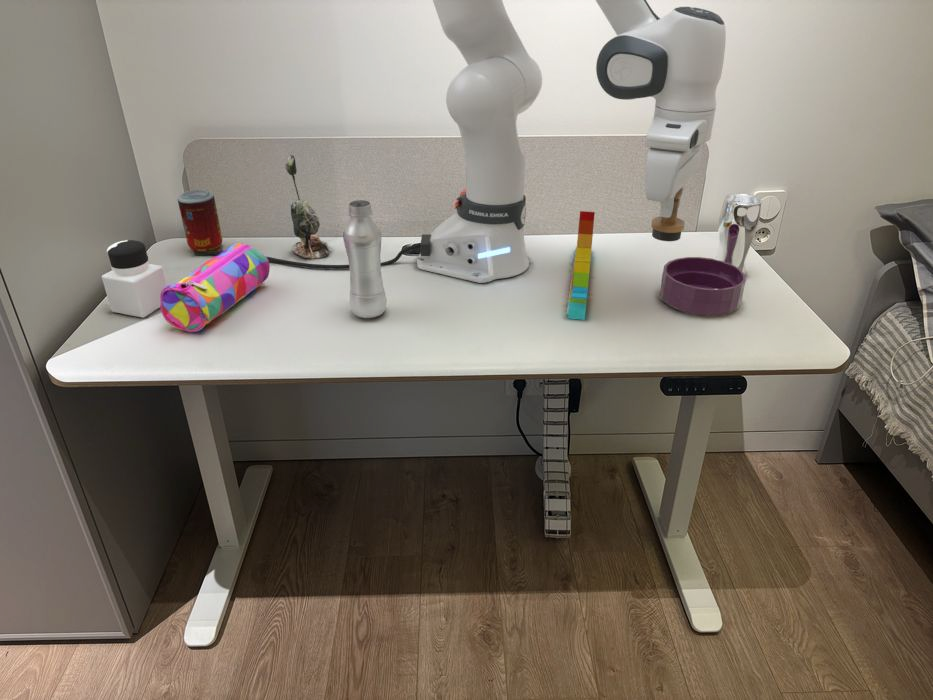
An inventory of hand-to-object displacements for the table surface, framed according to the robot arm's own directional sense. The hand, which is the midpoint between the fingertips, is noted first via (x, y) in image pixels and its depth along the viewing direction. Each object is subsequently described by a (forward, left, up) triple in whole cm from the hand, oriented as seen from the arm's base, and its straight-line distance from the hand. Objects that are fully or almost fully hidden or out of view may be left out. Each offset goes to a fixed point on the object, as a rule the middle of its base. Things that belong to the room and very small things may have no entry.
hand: (669, 212), depth 113 cm
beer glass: (+12, +21, -18) cm, 30 cm away
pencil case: (-74, -22, -18) cm, 79 cm away
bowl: (+7, +7, -18) cm, 21 cm away
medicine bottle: (-88, -26, -18) cm, 93 cm away
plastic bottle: (-48, -16, -18) cm, 54 cm away
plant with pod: (-71, +5, -18) cm, 73 cm away
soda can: (-93, 0, -18) cm, 94 cm away
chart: (-15, +8, -18) cm, 25 cm away
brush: (0, 0, -4) cm, 4 cm away
